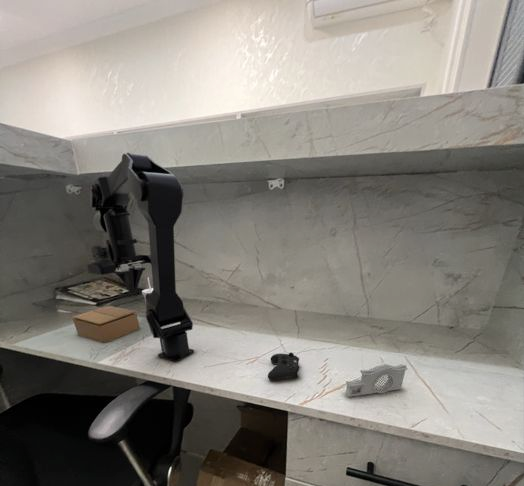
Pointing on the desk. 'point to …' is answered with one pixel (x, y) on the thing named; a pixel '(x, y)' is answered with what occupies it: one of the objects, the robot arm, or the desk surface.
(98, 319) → the flap
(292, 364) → the game controller
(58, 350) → the desk surface
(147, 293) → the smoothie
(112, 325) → the cardboard box
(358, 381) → the garden wall model
